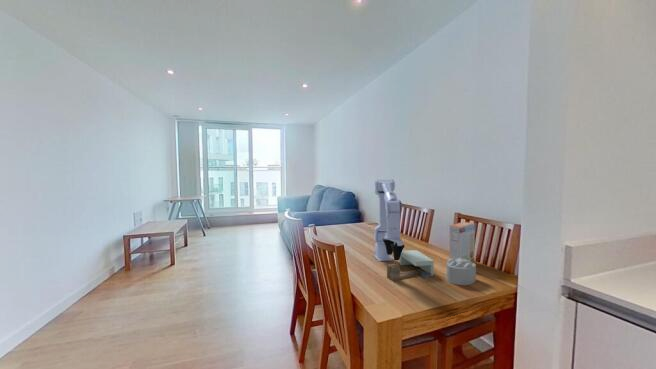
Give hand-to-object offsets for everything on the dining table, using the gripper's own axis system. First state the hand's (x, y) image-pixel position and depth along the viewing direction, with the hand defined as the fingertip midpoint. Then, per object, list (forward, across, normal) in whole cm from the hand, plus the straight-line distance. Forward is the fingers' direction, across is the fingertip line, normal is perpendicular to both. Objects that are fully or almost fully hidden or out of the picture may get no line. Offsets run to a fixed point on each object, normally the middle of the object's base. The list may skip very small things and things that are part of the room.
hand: (393, 257), depth 117 cm
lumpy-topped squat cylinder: (+10, +6, +29) cm, 31 cm away
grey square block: (+10, 0, +16) cm, 19 cm away
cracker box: (+10, -11, +43) cm, 45 cm away
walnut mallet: (+10, -2, +8) cm, 13 cm away
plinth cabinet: (+10, -8, +15) cm, 20 cm away
